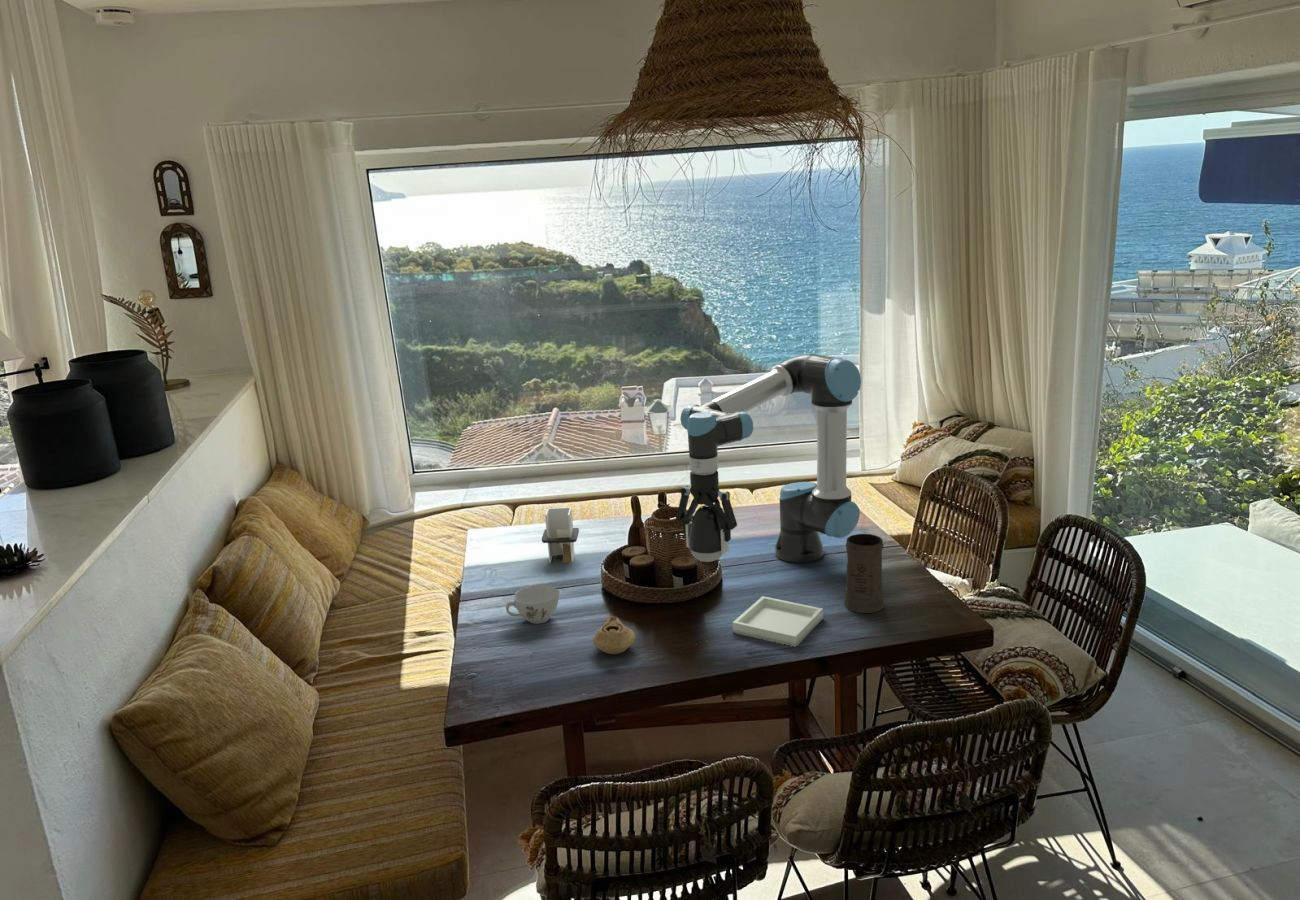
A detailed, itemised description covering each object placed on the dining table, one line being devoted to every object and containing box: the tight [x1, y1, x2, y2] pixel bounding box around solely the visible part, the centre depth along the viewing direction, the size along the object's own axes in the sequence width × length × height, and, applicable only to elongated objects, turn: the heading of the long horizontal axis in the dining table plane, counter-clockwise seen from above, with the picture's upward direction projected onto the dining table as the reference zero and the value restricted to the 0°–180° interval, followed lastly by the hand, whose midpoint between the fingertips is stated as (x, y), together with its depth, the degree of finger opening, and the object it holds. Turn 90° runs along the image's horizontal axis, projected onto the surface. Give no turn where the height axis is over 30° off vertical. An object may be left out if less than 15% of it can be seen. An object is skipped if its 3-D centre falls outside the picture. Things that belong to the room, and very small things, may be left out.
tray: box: [732, 595, 824, 648], centre depth 252 cm, size 18×18×3 cm
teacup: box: [505, 584, 560, 625], centre depth 262 cm, size 15×12×8 cm
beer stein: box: [843, 533, 885, 614], centre depth 261 cm, size 15×11×20 cm
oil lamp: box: [592, 616, 636, 655], centre depth 244 cm, size 11×15×8 cm
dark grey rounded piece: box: [688, 504, 724, 563], centre depth 255 cm, size 10×10×15 cm
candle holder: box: [541, 506, 580, 564], centre depth 303 cm, size 25×24×16 cm
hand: (707, 548), depth 256 cm, fingers closed on dark grey rounded piece, 10 cm apart
